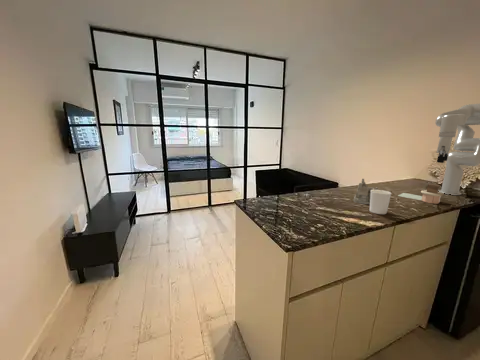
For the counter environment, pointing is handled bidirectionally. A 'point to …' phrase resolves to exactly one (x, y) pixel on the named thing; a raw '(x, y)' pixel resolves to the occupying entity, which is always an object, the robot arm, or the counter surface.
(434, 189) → the lid
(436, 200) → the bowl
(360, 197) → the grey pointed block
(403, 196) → the mat
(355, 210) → the counter surface
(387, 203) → the candle holder
